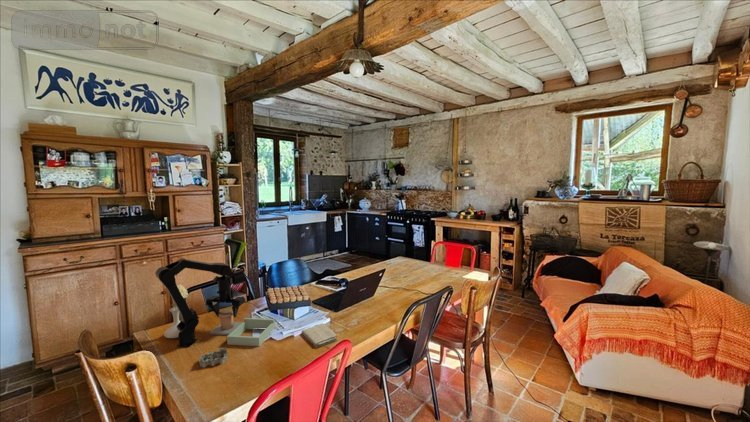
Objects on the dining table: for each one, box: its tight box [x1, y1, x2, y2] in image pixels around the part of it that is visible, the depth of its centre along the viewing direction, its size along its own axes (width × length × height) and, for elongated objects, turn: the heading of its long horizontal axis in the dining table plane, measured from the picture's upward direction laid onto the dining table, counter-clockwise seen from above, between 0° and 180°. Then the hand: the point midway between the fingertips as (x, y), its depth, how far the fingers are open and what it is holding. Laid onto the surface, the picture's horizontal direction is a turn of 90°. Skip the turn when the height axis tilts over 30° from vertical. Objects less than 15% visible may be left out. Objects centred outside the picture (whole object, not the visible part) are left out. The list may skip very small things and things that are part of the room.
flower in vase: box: [163, 284, 189, 339], centre depth 158 cm, size 13×11×25 cm
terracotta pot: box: [218, 309, 234, 330], centre depth 163 cm, size 7×7×8 cm
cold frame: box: [226, 317, 276, 347], centre depth 155 cm, size 16×16×6 cm
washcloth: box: [301, 323, 338, 349], centre depth 153 cm, size 12×18×3 cm, turn 37°
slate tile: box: [209, 321, 244, 336], centre depth 163 cm, size 12×12×1 cm
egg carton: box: [198, 346, 229, 369], centre depth 135 cm, size 11×8×4 cm
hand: (226, 316), depth 163 cm, fingers open, 9 cm apart
